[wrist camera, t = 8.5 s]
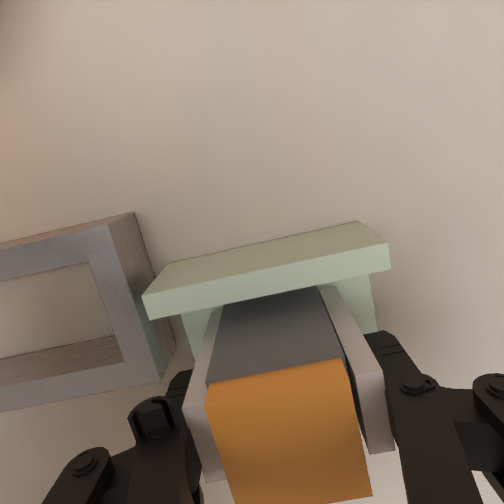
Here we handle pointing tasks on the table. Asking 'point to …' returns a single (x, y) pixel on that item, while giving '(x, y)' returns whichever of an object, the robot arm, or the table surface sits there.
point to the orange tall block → (284, 403)
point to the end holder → (272, 276)
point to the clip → (116, 304)
